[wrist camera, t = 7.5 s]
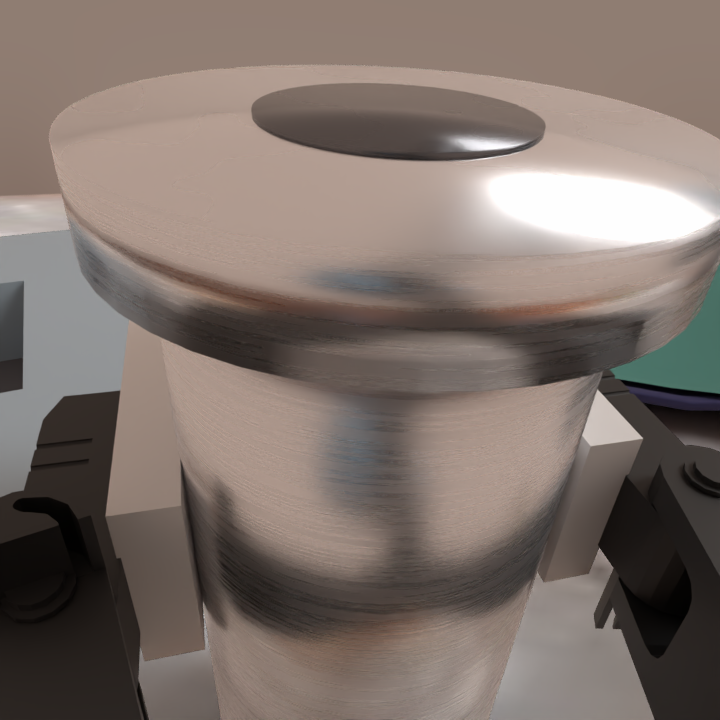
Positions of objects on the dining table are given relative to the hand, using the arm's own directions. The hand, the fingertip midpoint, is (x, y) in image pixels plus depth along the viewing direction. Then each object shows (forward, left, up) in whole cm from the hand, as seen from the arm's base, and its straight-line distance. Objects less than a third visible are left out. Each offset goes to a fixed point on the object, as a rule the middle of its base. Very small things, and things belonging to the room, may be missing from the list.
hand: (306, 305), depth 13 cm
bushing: (+1, +5, -7) cm, 9 cm away
